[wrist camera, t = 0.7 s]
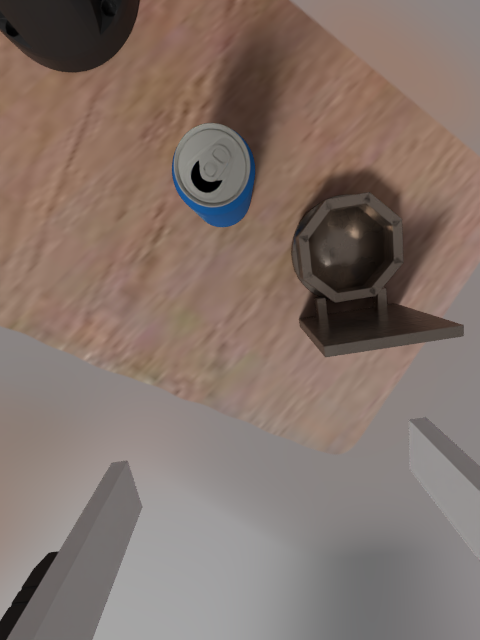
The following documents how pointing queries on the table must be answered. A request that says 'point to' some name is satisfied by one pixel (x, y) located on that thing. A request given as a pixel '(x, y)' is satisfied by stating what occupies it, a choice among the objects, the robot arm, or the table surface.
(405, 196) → the table surface
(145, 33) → the table surface
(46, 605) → the robot arm
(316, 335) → the cup bracket
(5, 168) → the table surface
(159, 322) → the table surface
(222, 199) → the beverage can
